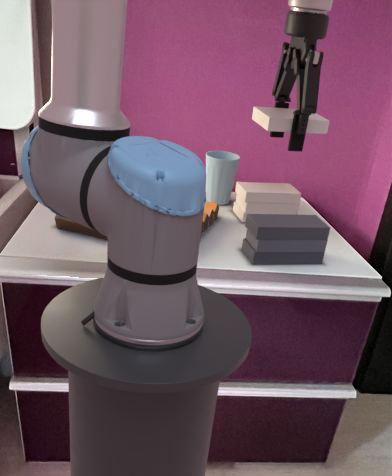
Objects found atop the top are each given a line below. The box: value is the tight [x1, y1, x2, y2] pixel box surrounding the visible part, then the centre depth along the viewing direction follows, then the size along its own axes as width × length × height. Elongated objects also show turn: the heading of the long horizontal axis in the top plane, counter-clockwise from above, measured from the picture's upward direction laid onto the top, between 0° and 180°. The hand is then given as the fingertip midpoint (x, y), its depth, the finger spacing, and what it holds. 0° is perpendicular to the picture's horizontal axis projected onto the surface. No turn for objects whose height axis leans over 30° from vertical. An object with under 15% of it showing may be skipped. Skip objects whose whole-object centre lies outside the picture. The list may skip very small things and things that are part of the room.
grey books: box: [241, 214, 331, 265], centre depth 104 cm, size 14×6×7 cm, turn 104°
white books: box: [232, 181, 302, 223], centre depth 122 cm, size 13×7×7 cm, turn 104°
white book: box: [251, 105, 330, 135], centre depth 108 cm, size 12×10×2 cm
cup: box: [205, 150, 241, 206], centre depth 127 cm, size 8×8×10 cm
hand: (285, 143), depth 110 cm, fingers closed on white book, 9 cm apart
